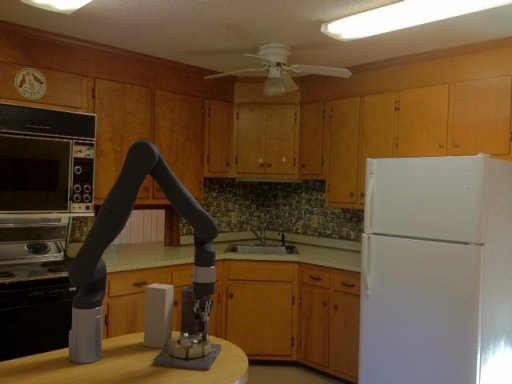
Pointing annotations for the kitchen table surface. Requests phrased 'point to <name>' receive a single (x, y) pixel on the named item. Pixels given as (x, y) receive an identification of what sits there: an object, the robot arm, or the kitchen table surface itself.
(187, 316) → the candle
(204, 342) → the tan block ring
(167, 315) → the light grey tall block
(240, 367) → the kitchen table surface
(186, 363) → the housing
